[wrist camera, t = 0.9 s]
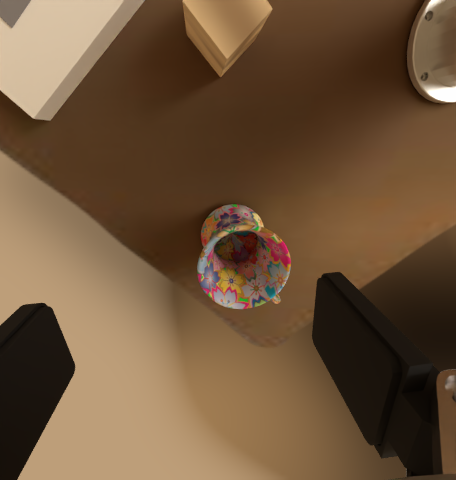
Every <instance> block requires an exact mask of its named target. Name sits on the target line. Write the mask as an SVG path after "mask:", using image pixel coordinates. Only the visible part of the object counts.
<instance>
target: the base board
mask: <svg viewBox="0 0 456 480" xmlns="http://www.w3.org/2000/svg"><path fill="white" fill-rule="evenodd" d="M144 1H145V0H0V90H1V91H2V92H3V93H4V94H5V95H6V96H8V97H9V98H10V99H11V100H12V101H13V102H15V103H16V104H17V105H18V106H19V107H20V108H22V109H23V110H24V111H25V112H26V113H27V114H28V115H30V116H31V117H32V118H33V119H40V120H49V121H50V120H51V119H52V118H53V117H54V115H55V114H56V113H57V112H58V110H59V109H60V108H61V106H62V105H63V104H64V103H65V101H66V100H67V99H68V98H69V96H70V95H71V94H72V93H73V91H74V90H75V89H76V87H77V86H78V85H79V84H80V82H81V81H82V80H83V79H84V77H85V76H86V75H87V73H88V72H89V71H90V70H91V68H92V67H93V66H94V65H95V63H96V62H97V61H98V59H99V58H100V57H101V56H102V54H103V53H104V52H105V51H106V49H107V48H108V47H109V45H110V44H111V43H112V42H113V40H114V39H115V38H116V37H117V35H118V34H119V33H120V31H121V30H122V29H123V28H124V26H125V25H126V24H127V23H128V21H129V20H130V19H131V17H132V16H133V15H134V14H135V12H136V11H137V10H138V9H139V7H140V6H141V5H142V3H143V2H144Z"/></svg>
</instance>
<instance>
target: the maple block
mask: <svg viewBox="0 0 456 480" xmlns="http://www.w3.org/2000/svg"><path fill="white" fill-rule="evenodd" d="M183 9H184V17H185V25H186V33H187V36H188V37H189V38H190V40H191V41H192V42H193V43H194V45H195V46H196V47H197V48H198V50H199V51H200V52H201V54H202V55H203V56H204V57H205V59H206V60H207V61H208V62H209V64H210V65H211V66H212V67H213V69H214V70H215V71H216V72H217V74H218V75H219V76H220V77H222V76H223V74H224V73H225V72H226V71H227V70H228V69H229V68H230V67H231V66H232V65H233V64H234V62H235V61H236V60H237V59H238V58H239V57H240V56H241V55H242V54H243V53H244V52H245V50H246V49H247V48H248V47H249V46H250V45H251V44H252V43H253V42H254V41H255V39H256V37H257V36H258V34H259V32H260V30H261V29H262V27H263V25H264V23H265V21H266V20H267V18H268V16H269V14H270V13H271V11H272V7H271V6H270V4H269V3H268V1H267V0H183Z"/></svg>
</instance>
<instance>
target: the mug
mask: <svg viewBox="0 0 456 480" xmlns="http://www.w3.org/2000/svg"><path fill="white" fill-rule="evenodd" d="M201 241H202V244H203V247H204V249H203V250H202V252H201V254H200V257H199V260H198V265H197V275H198V280H199V283H200V285H201V287H202V289H203V291H204V292H205V293H206V295H207V296H208V297H209V298H210V299H212V300H213V301H214V302H216V303H218V304H220V305H222V306H225V307H228V308H233V309H247V308H253V307H256V306H259V305H262V304H264V303H266V302H267V301H269V300H271V301H272V302H273V303H275V304H278V303H279V302H280V301H281V300H280V297H279V295H278V293H279V292H280V291H281V289H282V288H283V286H284V285H285V283H286V281H287V279H288V277H289V273H290V266H291V260H290V255H289V251H288V249H287V247H286V245H285V243H284V242H283V241H282V239H281V238H280V237H279V236H278V235H276V234H275V233H274V232H272V231H270V230H269V229H266V228H264V226H263V223H262V221H261V219H260V217H259V216H258V215H257V213H256V212H254V211H253V210H252V209H250V208H248V207H246V206H243V205H239V204H229V205H224V206H222V207H219V208H217V209H216V210H214V211H213V212H212V213H211V214H210V215H209V216H208V217H207V218H206V220H205V221H204V224H203V226H202V230H201Z"/></svg>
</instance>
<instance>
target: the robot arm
mask: <svg viewBox="0 0 456 480" xmlns="http://www.w3.org/2000/svg"><path fill="white" fill-rule="evenodd" d="M407 67H408V71H409V76H410V79H411V81H412V83H413V86H414V87H415V89H416V90H417V91H418V93H419V94H420V95H422V96H423V97H424V98H425V99H427V100H430V101H432V102H435V103H442V104H443V103H453V102H456V0H425V1H424V3H423V5H422V7H421V8H420V10H419V12H418V14H417V16H416V19H415V21H414V23H413V26H412V29H411V33H410V37H409V40H408V48H407ZM312 339H313V343H314V345H315V347H316V349H317V351H318V353H319V355H320V356H321V358H322V360H323V362H324V364H325V365H326V368H327V369H328V371H329V373H330V375H331V377H332V379H333V380H334V382H335V384H336V386H337V388H338V390H339V392H340V393H341V395H342V397H343V399H344V401H345V403H346V405H347V406H348V408H349V410H350V412H351V414H352V416H353V417H354V419H355V421H356V423H357V425H358V427H359V429H360V430H361V432H362V434H363V436H364V438H365V439H366V441H367V442H368V443H369V444H370V445H374V446H375V448H376V450H377V451H378V453H379V455H380V457H381V458H388V457H394V456H398V457H399V459H400V460H401V462H402V463H403V465H404V467H405V468H406V477H405V478H398V479H391V480H456V370H452V369H450V370H445V371H442V372H441V373H440V372H439V371H438V370H437V369H436V368H435V367H434V366H433V363H432V362H431V361H430V360H429V359H428V358H427V357H426V356H425V355H424V354H423V353H422V352H421V351H420V350H419V349H418V348H417V347H416V346H415V345H414V344H413V343H412V342H411V341H410V340H409V339H408V338H407V337H406V336H405V335H404V334H403V333H402V332H401V331H400V330H399V329H398V328H397V327H396V326H395V325H394V324H393V323H392V322H391V321H390V320H389V319H388V318H387V317H386V316H384V315H383V314H382V313H381V312H380V311H379V310H378V309H377V308H376V307H375V306H374V305H373V304H372V303H371V302H370V301H369V300H368V299H367V298H366V297H365V296H364V295H363V294H362V293H361V292H360V291H359V290H358V289H357V288H356V287H355V286H354V285H353V284H352V283H351V282H350V281H349V280H348V279H347V278H346V277H345V276H344V275H343V274H342V273H340V272H334V273H324V274H323V275H322V277H321V278H318V280H317V288H316V299H315V309H314V320H313V331H312ZM74 371H75V363H74V361H73V358H72V356H71V353H70V351H69V348H68V346H67V343H66V341H65V339H64V336H63V334H62V331H61V329H60V326H59V324H58V321H57V319H56V316H55V314H54V312H53V309H52V308H51V307H48V306H47V305H46V304H45V303H36V304H26V305H23V306H21V307H20V308H19V309H18V310H16V311H15V312H14V313H13V314H12V315H11V316H10V317H9V318H8V319H7V320H6V321H5V322H4V323H3V324H1V325H0V480H17V479H18V477H19V475H20V473H21V471H22V470H23V468H24V466H25V464H26V462H27V460H28V458H29V456H30V455H31V453H32V451H33V449H34V447H35V445H36V443H37V442H38V440H39V438H40V436H41V434H42V432H43V430H44V429H45V427H46V425H47V423H48V421H49V419H50V418H51V416H52V414H53V412H54V410H55V408H56V406H57V404H58V403H59V401H60V399H61V397H62V395H63V393H64V391H65V390H66V388H67V386H68V384H69V382H70V380H71V378H72V377H73V374H74Z"/></svg>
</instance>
